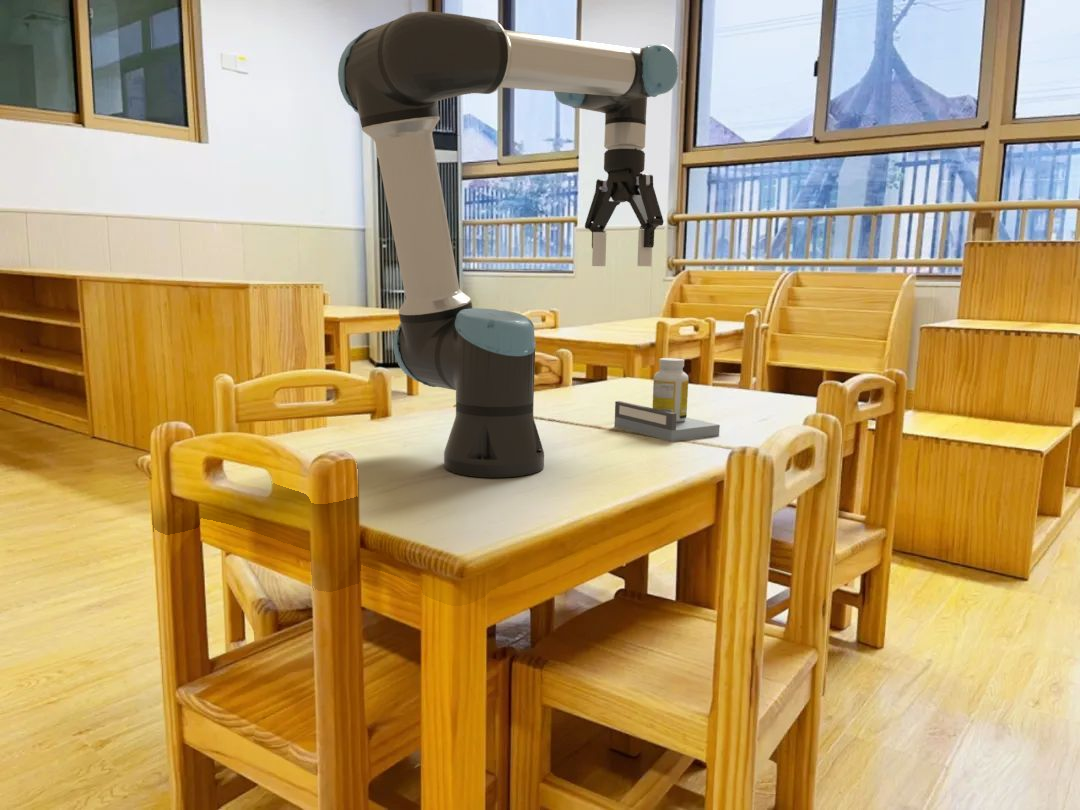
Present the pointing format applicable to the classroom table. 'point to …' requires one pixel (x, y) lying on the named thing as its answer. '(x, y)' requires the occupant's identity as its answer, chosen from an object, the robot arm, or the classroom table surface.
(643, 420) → the grey piece
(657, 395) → the pill bottle
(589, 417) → the classroom table surface
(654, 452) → the classroom table surface
